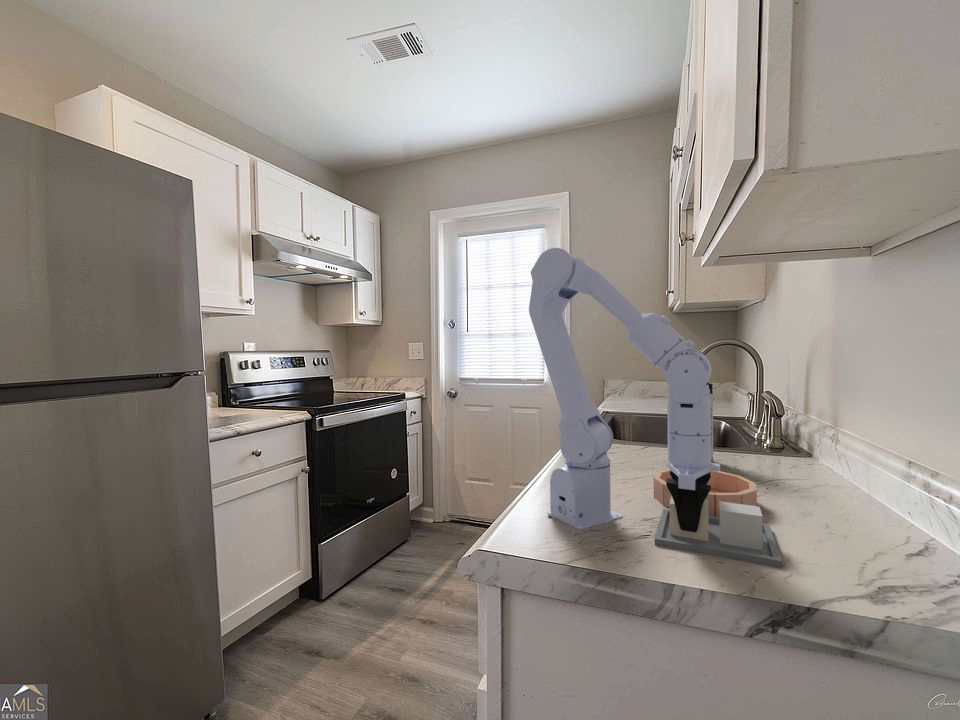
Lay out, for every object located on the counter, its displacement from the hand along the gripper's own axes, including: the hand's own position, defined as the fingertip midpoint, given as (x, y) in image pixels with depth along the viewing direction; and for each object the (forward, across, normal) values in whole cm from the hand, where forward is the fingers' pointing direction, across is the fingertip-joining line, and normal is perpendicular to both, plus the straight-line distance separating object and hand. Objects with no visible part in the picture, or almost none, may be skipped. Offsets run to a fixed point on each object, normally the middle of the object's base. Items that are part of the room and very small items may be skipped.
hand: (689, 524), depth 64 cm
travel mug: (+2, +48, 0) cm, 48 cm away
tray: (+2, 0, -3) cm, 4 cm away
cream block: (+1, 0, 0) cm, 1 cm away
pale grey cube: (+1, 0, -6) cm, 7 cm away
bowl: (+2, +16, -2) cm, 16 cm away
